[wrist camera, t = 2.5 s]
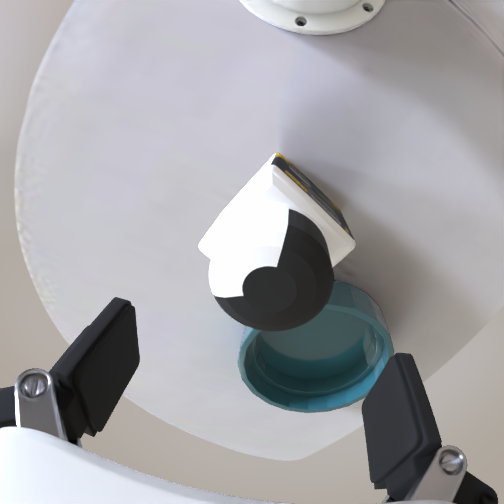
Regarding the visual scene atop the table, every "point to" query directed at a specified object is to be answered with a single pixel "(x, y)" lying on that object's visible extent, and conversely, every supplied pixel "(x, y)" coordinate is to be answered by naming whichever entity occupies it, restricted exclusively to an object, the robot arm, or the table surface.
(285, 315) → the medicine bottle
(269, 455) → the table surface
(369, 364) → the dish
